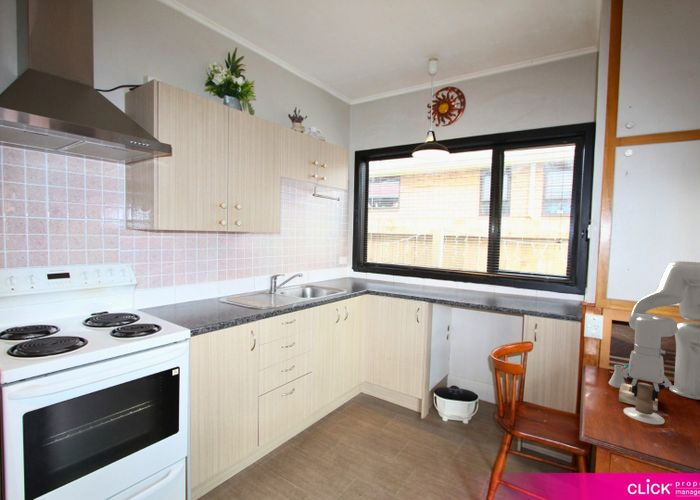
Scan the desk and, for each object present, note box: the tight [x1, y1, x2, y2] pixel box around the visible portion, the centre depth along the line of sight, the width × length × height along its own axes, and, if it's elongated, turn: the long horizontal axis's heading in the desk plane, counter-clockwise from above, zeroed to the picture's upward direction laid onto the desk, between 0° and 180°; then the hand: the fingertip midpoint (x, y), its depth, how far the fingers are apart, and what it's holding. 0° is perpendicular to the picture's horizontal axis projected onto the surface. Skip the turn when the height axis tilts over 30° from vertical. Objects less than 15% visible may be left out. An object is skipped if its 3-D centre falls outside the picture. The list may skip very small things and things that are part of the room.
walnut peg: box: [634, 382, 654, 415], centre depth 133 cm, size 5×5×10 cm
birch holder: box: [618, 382, 659, 412], centre depth 145 cm, size 12×12×5 cm
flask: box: [608, 364, 627, 389], centre depth 161 cm, size 7×7×10 cm
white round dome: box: [623, 407, 666, 425], centre depth 133 cm, size 12×12×1 cm
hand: (644, 397), depth 133 cm, fingers closed on walnut peg, 4 cm apart
